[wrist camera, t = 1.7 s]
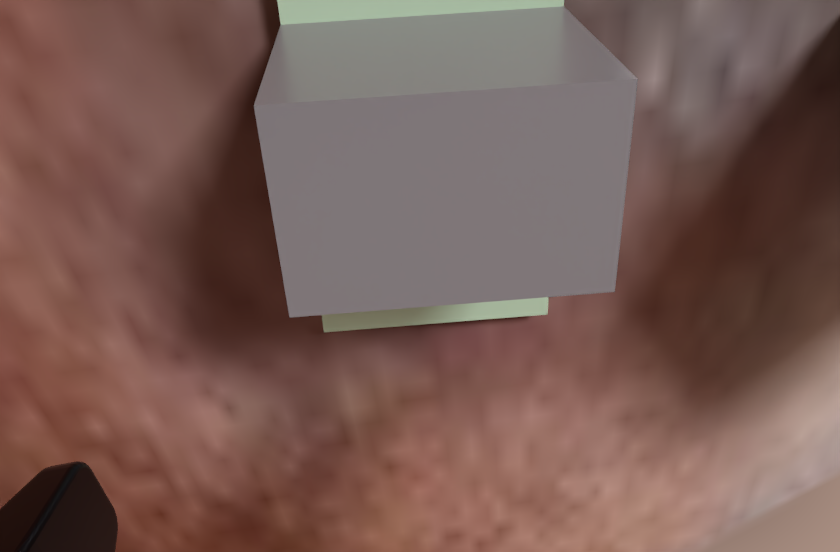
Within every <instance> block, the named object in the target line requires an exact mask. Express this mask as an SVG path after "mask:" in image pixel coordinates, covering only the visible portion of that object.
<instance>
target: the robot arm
mask: <svg viewBox="0 0 840 552" xmlns="http://www.w3.org/2000/svg"><path fill="white" fill-rule="evenodd" d="M117 531H118V523H117V516H116V513H115V510H114V508H113V506H112V504H111V502H110V501H109V499H108V497H107V496H106V494H105V492H104V490H103V489H102V487H101V485H100V483H99V482H98V480H97V478H96V477H95V475H94V473H93V471H92V470H91V469H90V467H89V466H88V465H87V464H85V463H83V462H71V463H66V464H60V465H55V466H50V467H47V468H45V469H43V470H42V471H41V472H39V473H38V474H37V475H36V476H35V477H34V478H33V479H32V480H31V481H30V482H29V483H28V484H27V485H25V486H24V487H23V488H22V489H21V490H20V491H19V492H18V493H17V494H16V495H15V496H14V497H13V498H12V499H11V500H9V501H8V502H7V503H6V504H5V505H4V506H3V507H2V508H1V509H0V552H115V549H116V541H117Z"/></svg>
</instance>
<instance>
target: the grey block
mask: <svg viewBox="0 0 840 552" xmlns="http://www.w3.org/2000/svg"><path fill="white" fill-rule="evenodd" d="M277 2H278V9H279V17H280V24H281V25H280V28H279V31H278V34H277V37H276V40H275V43H274V46H273V49H272V52H271V55H270V58H269V61H268V64H267V67H266V70H265V73H264V76H263V79H262V82H261V85H260V88H259V91H258V94H257V97H256V100H255V103H254V110H255V116H256V122H257V128H258V134H259V140H260V146H261V152H262V158H263V164H264V170H265V176H266V182H267V188H268V193H269V199H270V205H271V211H272V217H273V223H274V229H275V235H276V241H277V247H278V253H279V259H280V265H281V271H282V277H283V282H284V288H285V294H286V300H287V306H288V312H289V318H291V317H303V316H316V315H322V322H323V329H324V332H335V331H347V330H360V329H372V328H385V327H397V326H410V325H422V324H435V323H447V322H460V321H472V320H485V319H497V318H510V317H522V316H535V315H547V314H548V297H556V296H569V295H581V294H594V293H607V292H615V285H616V276H617V267H618V258H619V248H620V239H621V230H622V221H623V211H624V202H625V193H626V184H627V174H628V165H629V156H630V147H631V138H632V128H633V119H634V110H635V101H636V91H637V82H638V79H637V78H636V77H635V76H634V75H633V74H632V73H631V72H630V71H629V70H628V69H627V68H626V67H625V66H624V65H623V64H622V63H621V62H620V61H619V60H618V59H617V58H616V57H615V56H614V55H613V54H612V53H611V52H610V51H609V50H608V49H607V48H606V47H605V46H604V45H603V44H602V43H601V42H600V41H599V40H598V39H597V38H595V37H594V36H593V35H592V34H591V33H590V32H589V31H588V30H587V29H586V28H585V27H584V26H583V25H582V24H581V23H580V22H579V21H578V20H577V19H576V18H575V17H574V16H573V15H572V14H571V13H570V12H569V11H568V10H567V9H566V8H565V7H564V0H277Z"/></svg>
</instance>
